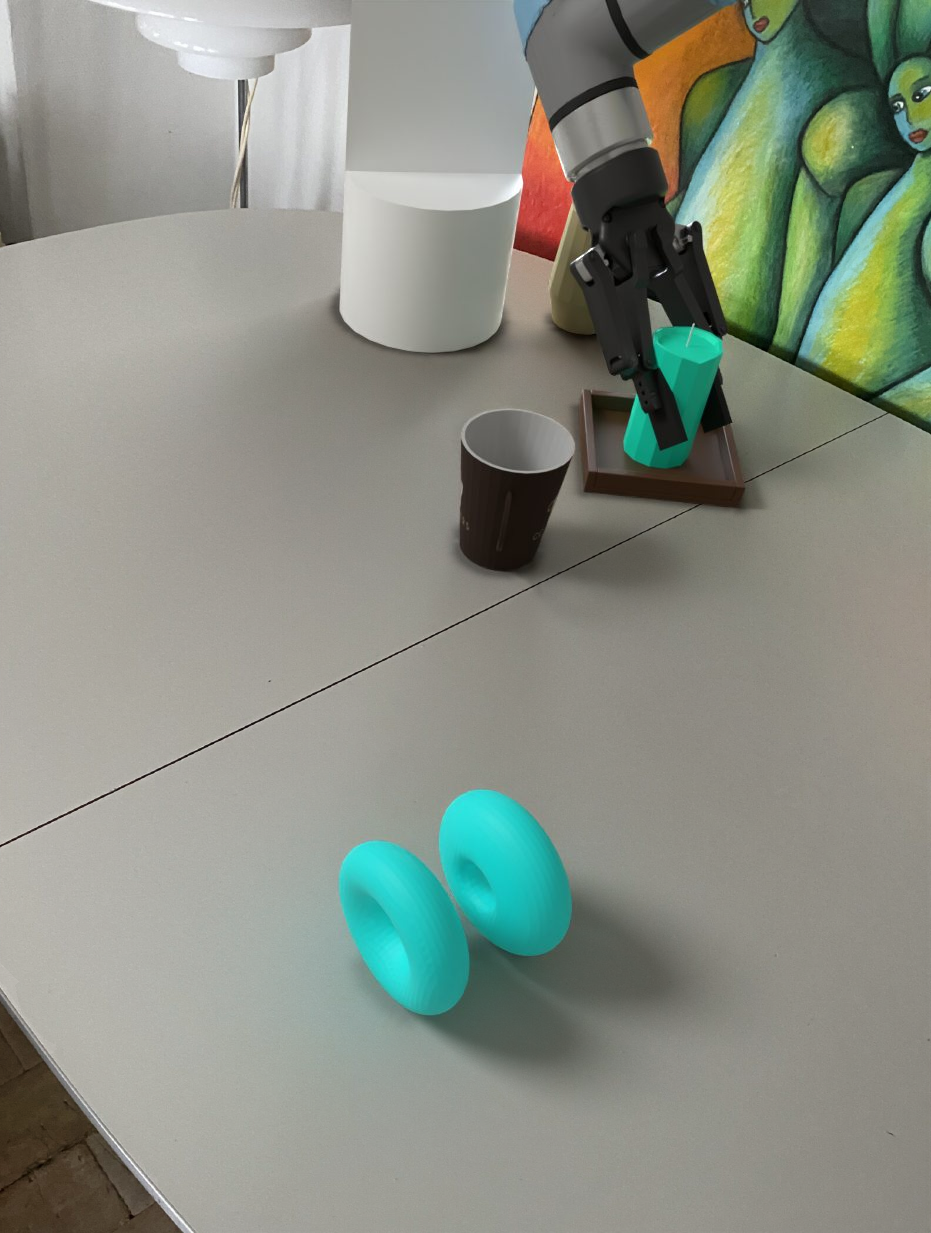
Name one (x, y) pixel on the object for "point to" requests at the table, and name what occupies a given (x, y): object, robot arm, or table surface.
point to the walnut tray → (614, 472)
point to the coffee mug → (509, 484)
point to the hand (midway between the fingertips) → (696, 436)
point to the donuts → (482, 886)
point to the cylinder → (432, 169)
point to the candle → (676, 392)
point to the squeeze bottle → (570, 280)
